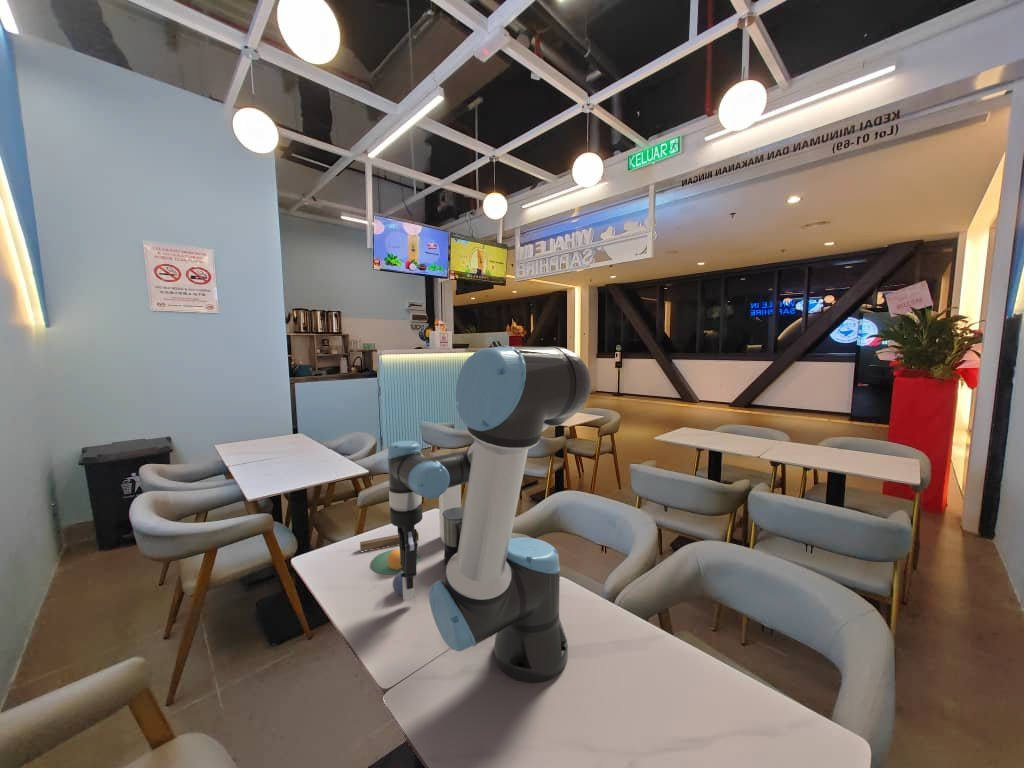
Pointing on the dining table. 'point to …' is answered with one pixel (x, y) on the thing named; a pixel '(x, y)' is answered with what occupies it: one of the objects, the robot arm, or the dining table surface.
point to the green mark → (384, 564)
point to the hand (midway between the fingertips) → (409, 598)
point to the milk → (448, 504)
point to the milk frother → (452, 531)
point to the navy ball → (398, 584)
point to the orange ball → (394, 559)
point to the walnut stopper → (381, 542)
